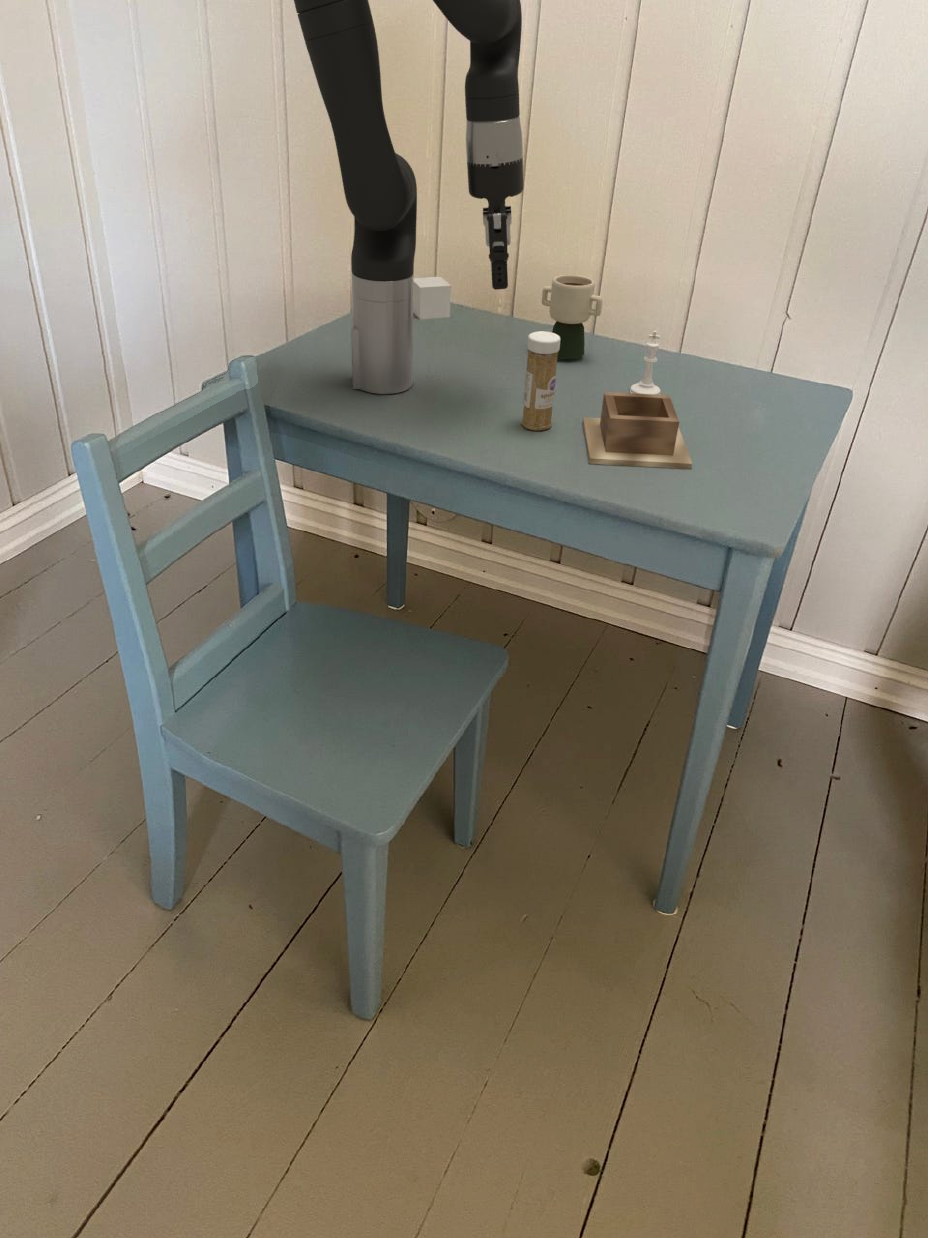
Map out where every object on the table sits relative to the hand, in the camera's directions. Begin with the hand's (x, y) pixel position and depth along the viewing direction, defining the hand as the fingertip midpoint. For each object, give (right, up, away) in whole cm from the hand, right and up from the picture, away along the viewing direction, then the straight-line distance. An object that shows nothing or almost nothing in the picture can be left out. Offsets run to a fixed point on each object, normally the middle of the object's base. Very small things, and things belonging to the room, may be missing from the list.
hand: (499, 279), depth 134 cm
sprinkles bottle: (+5, -20, +4) cm, 21 cm away
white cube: (-12, +10, +45) cm, 47 cm away
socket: (+19, -24, -1) cm, 31 cm away
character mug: (+13, -3, +28) cm, 31 cm away
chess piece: (+24, -13, +16) cm, 31 cm away
